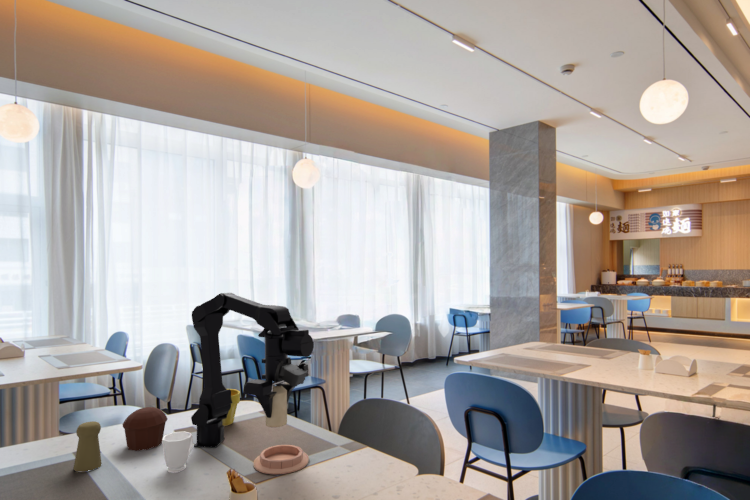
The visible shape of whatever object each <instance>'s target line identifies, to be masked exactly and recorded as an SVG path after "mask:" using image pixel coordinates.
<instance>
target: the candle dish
mask: <svg viewBox="0 0 750 500" xmlns="http://www.w3.org/2000/svg"><path fill="white" fill-rule="evenodd" d="M309 461H310V458H309V455H308V453H306V452H305V451H304V450H303V449H302V448H301V446H296V445H294V444H278V445H272V446H269V447H267V448H263V450H261V452H260V454H259V455H257V457H256V458H254V460H253V469H255V470H256V471H257V472H259V473H262V474H266V475H287V474H291V473H295V472H298V471H300V470H302V469H304V468H305V467H306V466H307V465H308V464H309Z"/></svg>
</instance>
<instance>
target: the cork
mask: <svg viewBox="0 0 750 500" xmlns="http://www.w3.org/2000/svg"><path fill="white" fill-rule="evenodd" d="M101 430H102V426H101V424H100V422H99V421H96V420H95V421H86V422H82V423H80V424H79V425H78V427H77V429H76V431H75V432H76V434H75V435H76V436H77V438H78V441H77V448H76V454H75V459H74V463H73V464H74V465H73V469H74V470H75V471H88V470H93V469H95V468H97V469H99V468H100V467H102V465H101V464H103V463H102V456H101V448H100V440H99V434H100V432H101ZM98 467H99V468H98ZM95 470H96V469H95ZM93 471H94V470H93Z"/></svg>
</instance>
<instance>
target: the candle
mask: <svg viewBox="0 0 750 500" xmlns="http://www.w3.org/2000/svg"><path fill="white" fill-rule="evenodd" d="M273 391H274V392H277V393H276V394H275V395H274V397H273V402H272V415H271V418H267V416H266V415H265V426H266V427H267V428H273V429H274V428H283V427H284V426H286V425H287V423H288V404H287V390H286V389H285V388H284V387H283V386H276V385H275V386H273Z"/></svg>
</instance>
